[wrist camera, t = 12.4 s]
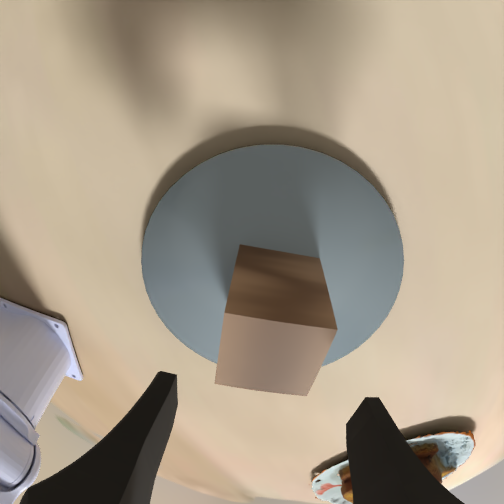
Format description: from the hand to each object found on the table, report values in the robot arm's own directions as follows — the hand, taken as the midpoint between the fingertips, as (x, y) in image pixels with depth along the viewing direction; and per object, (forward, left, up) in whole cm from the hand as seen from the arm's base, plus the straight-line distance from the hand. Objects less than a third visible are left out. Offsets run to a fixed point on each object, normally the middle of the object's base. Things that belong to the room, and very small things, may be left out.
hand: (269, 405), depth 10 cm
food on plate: (+25, -30, -10) cm, 40 cm away
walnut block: (0, 0, -8) cm, 8 cm away
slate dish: (0, 0, -9) cm, 9 cm away
